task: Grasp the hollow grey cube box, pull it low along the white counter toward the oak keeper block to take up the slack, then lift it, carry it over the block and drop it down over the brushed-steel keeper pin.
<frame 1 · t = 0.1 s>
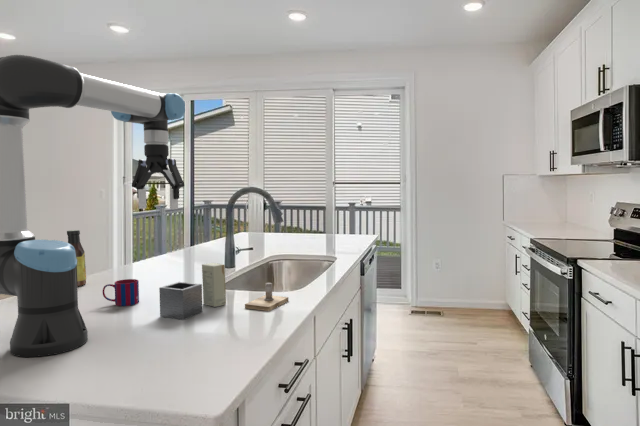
hand: (158, 208, 152), 28 cm above the counter, fingers open, 13 cm apart
skincare box: (214, 305, 138), on the counter
sauce bottle: (76, 285, 165), on the counter
hollow grey cube box: (181, 314, 128), on the counter
mug: (121, 304, 139), on the counter
keeper block: (267, 304, 137), on the counter
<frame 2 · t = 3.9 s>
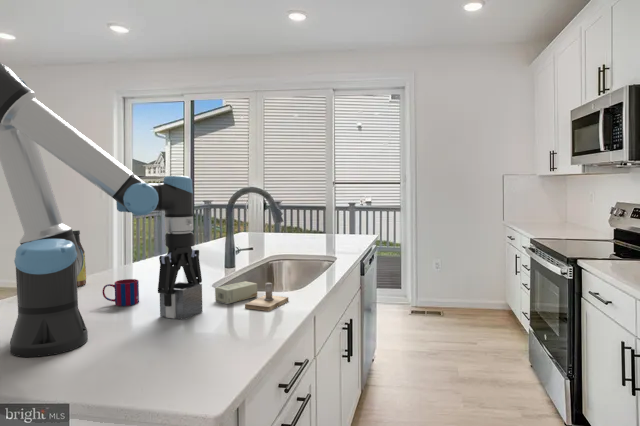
hand: (181, 313, 128), 0 cm above the counter, fingers closed on hollow grey cube box, 8 cm apart
skincare box: (220, 295, 139), point 2 cm above the counter
hollow grey cube box: (181, 314, 128), on the counter, touching gripper
everything else where it was.
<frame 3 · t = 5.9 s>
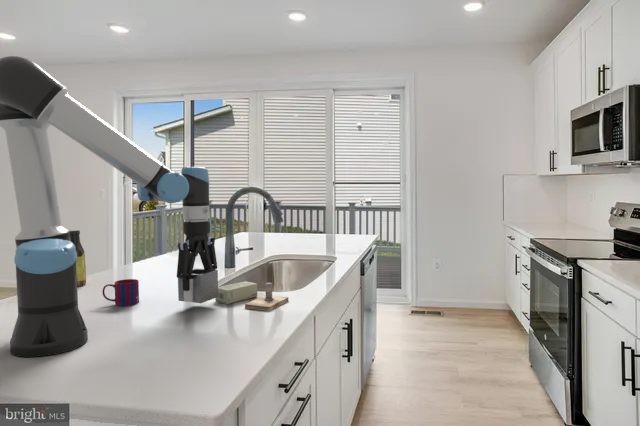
hand: (198, 297, 134), 3 cm above the counter, fingers closed on hollow grey cube box, 8 cm apart
hollow grey cube box: (198, 298, 134), point 3 cm above the counter, touching gripper
everything else where it was.
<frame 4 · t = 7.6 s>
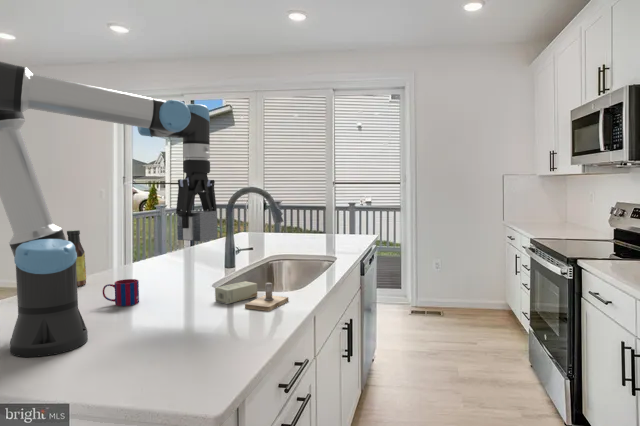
hand: (197, 238, 134), 20 cm above the counter, fingers closed on hollow grey cube box, 8 cm apart
hollow grey cube box: (197, 239, 134), point 20 cm above the counter, touching gripper
everything else where it was.
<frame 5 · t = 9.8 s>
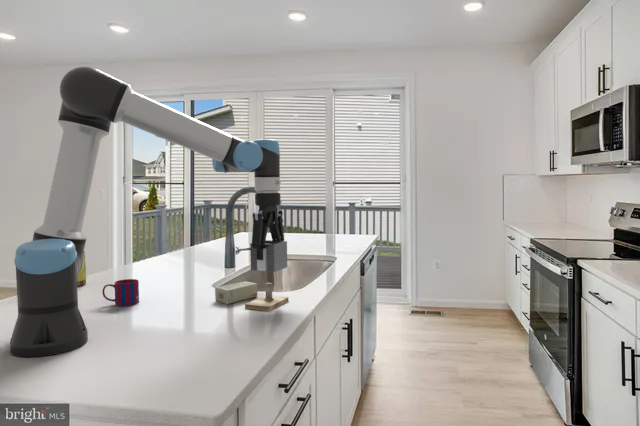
hand: (269, 267, 138), 11 cm above the counter, fingers closed on hollow grey cube box, 8 cm apart
hollow grey cube box: (269, 268, 138), point 11 cm above the counter, touching gripper
everything else where it was.
when the fingers open (3 cm above the counter, at t = 11.8 s): hollow grey cube box drops 1 cm, resting on keeper block.
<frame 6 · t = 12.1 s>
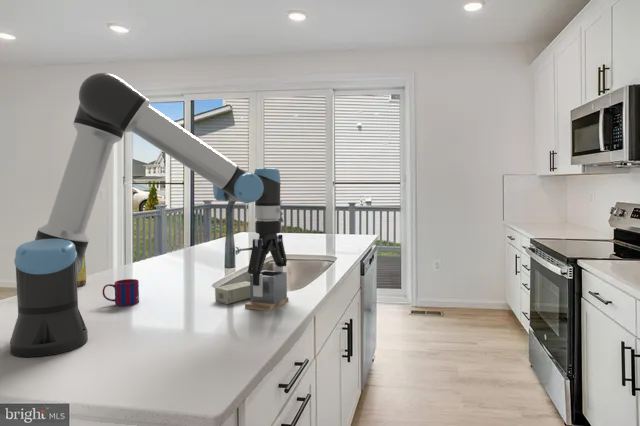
hand: (268, 291, 138), 4 cm above the counter, fingers open, 12 cm apart
hollow grey cube box: (268, 299, 138), point 1 cm above the counter, touching keeper block
everything else where it was.
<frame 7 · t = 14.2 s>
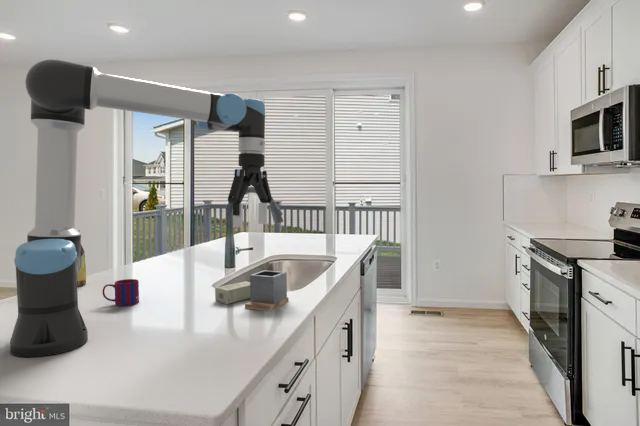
hand: (250, 225, 135), 24 cm above the counter, fingers open, 13 cm apart
nothing on the counter moved.
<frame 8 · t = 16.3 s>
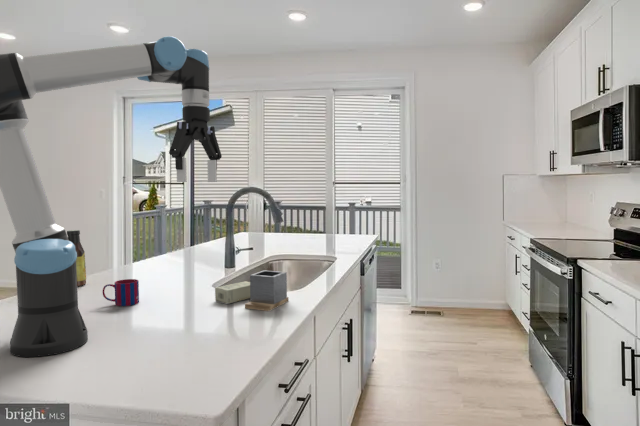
hand: (197, 182, 131), 37 cm above the counter, fingers open, 13 cm apart
nothing on the counter moved.
at the end: hollow grey cube box 0.0 cm from the target spot on the keeper block, point 1.2 cm above the keeper block's base; the gripper is holding nothing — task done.
